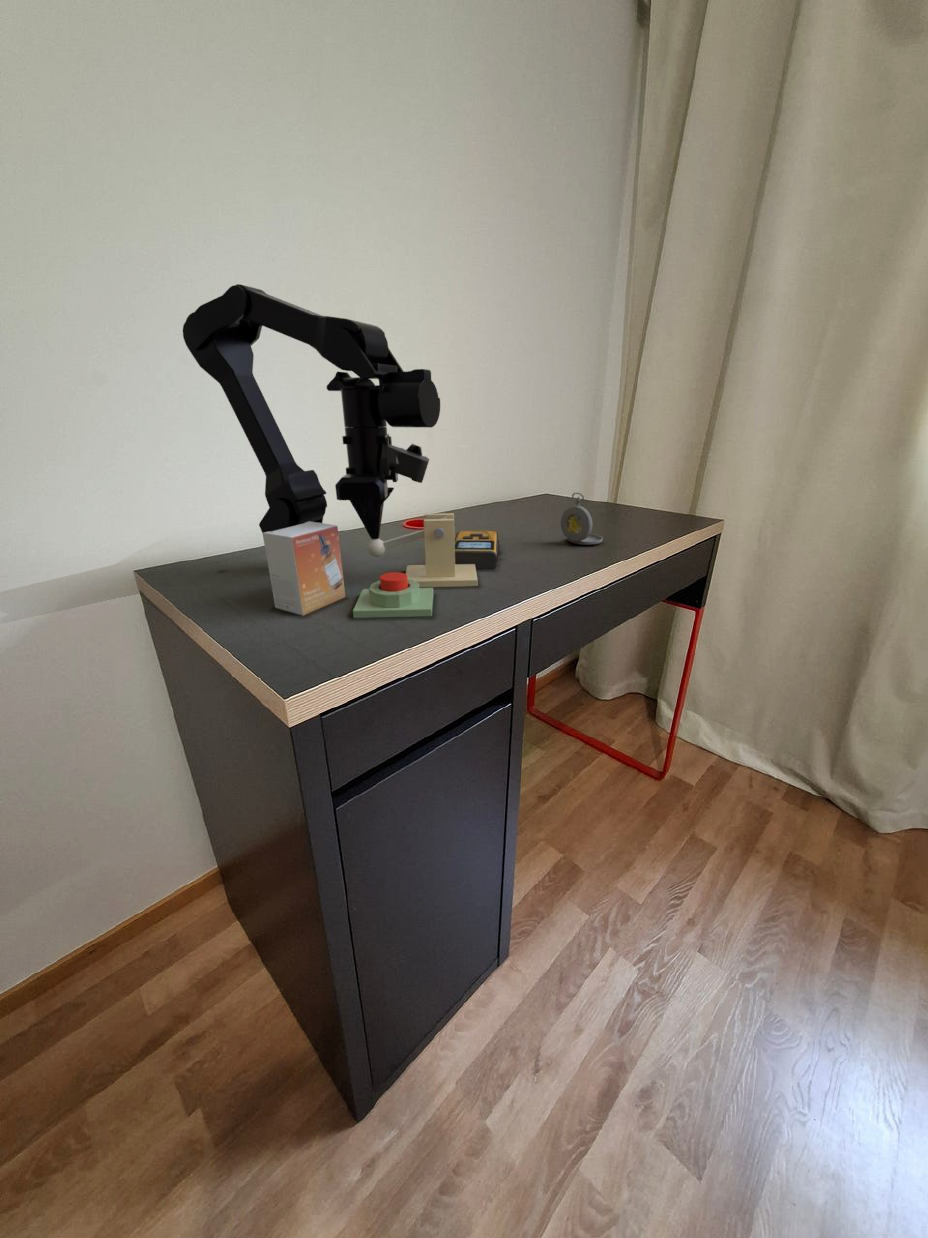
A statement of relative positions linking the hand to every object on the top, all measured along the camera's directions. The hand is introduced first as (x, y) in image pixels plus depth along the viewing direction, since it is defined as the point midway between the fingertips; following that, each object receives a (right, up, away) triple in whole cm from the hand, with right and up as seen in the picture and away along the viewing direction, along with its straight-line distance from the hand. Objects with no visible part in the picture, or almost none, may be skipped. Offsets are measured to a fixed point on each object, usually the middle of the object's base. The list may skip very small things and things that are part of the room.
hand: (375, 538), depth 73 cm
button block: (+4, -10, -7) cm, 13 cm away
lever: (+5, -1, +1) cm, 5 cm away
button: (+4, -8, -8) cm, 12 cm away
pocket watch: (+36, +3, +22) cm, 42 cm away
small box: (-8, -10, -6) cm, 14 cm away
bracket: (+10, -6, +3) cm, 12 cm away
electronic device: (+15, -1, +14) cm, 21 cm away
